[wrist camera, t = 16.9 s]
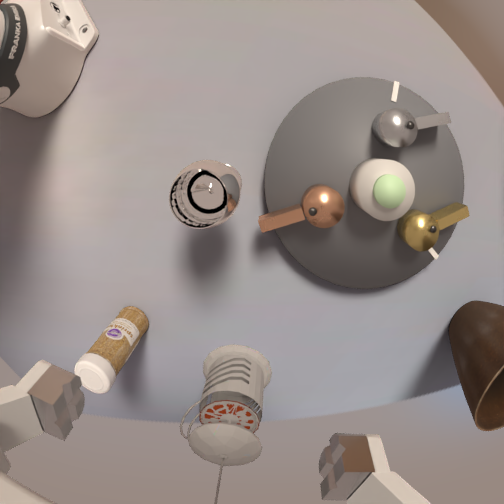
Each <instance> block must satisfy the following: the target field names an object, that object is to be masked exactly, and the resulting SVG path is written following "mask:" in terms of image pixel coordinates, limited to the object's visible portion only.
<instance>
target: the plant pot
mask: <svg viewBox="0 0 504 504" xmlns="http://www.w3.org/2000/svg"><path fill="white" fill-rule="evenodd" d="M449 337H450V343H451V348H452V353H453V357H454V361H455V365H456V369H457V373H458V376H459V379H460V383H461V386H462V389H463V391H464V395H465V398H466V400H467V403H468V405H469V408H470V411H471V413H472V416H473V419H474V421H475V424H476V426H477V427H478V428H479V429H480V430H483V431H492V430H497V429H499V428H502V427H504V306H501V305H497V304H493V303H489V302H483V301H471V302H469V303H467V304H465V305H464V306H462V307H461V308H460V309H459V310H458V311H457V312H456V314H455V315H454V317H453V318H452V320H451V323H450V326H449Z"/></svg>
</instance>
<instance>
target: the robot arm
mask: <svg viewBox="0 0 504 504" xmlns="http://www.w3.org/2000/svg"><path fill="white" fill-rule="evenodd" d="M2 1H3V0H0V106H1V107H5V108H9V109H12V110H14V111H17V112H19V113H21V114H23V115H25V116H28V117H41V116H44V115H46V114H48V113H50V112H52V111H53V110H54V109H56V108H57V107H58V106H59V105H60V104H61V103H62V102H63V101H64V100H65V99H66V98H67V96H68V95H69V94H70V92H71V91H72V89H73V87H74V86H75V84H76V82H77V80H78V78H79V75H80V73H81V70H82V67H83V63H84V60H85V57H86V55H87V53H88V52H89V51H90V49H91V48H92V46H93V45H94V43H95V42H96V40H97V38H98V30H97V28H96V27H95V25H94V23H93V21H92V19H91V17H90V16H89V14H88V12H87V10H86V8H85V6H84V5H83V3H82V1H81V0H9V1H8V2H7V3H5V4H1V2H2ZM87 29H88V30H87ZM86 30H87V32H85V31H86ZM81 385H82V382H81V377H79V376H77V375H75V374H73V373H71V372H68V371H66V370H64V369H62V368H60V367H57V366H55V365H53V364H51V363H48V362H46V361H44V360H40V361H38V362H37V363H36V364H35V365H34V366H33V367H32V368H31V370H30V371H29V372H28V373H27V374H26V375H25V376H24V377H23V378H22V379H21V380H20V382H19V383H18V384H17V385H16V386H13V385H10V386H6V387H3V388H0V504H57V503H55V502H53V501H51V500H49V499H47V498H45V497H43V496H41V495H40V494H38V493H36V492H34V491H33V490H31V489H29V488H27V487H26V486H24V485H22V484H21V483H19V482H18V481H16V480H14V479H13V478H11V477H10V476H8V475H7V473H8V471H9V469H10V467H11V464H10V462H9V460H8V459H7V457H6V455H5V454H4V452H6V451H8V450H10V449H12V448H14V447H16V446H18V445H20V444H22V443H24V442H26V441H28V440H30V439H32V438H34V437H36V436H38V435H40V434H41V433H43V431H44V432H46V433H48V434H50V435H53V436H55V437H57V438H59V439H61V440H64V441H65V439H66V437H67V436H68V434H69V432H70V431H71V430H72V428H73V426H72V421H74V420H76V419H78V418H79V416H80V415H81V413H82V411H83V408H84V400H85V399H84V394H83V392H82V391H81V390H80V387H81ZM329 441H330V445H329V446H327V447H325V448H324V450H323V452H322V453H321V457H320V460H319V473H320V474H321V476H323V478H324V480H323V481H322V483H321V484H320V485H321V494H322V500H347V501H346V502H347V503H348V504H431V503H430V502H429V501H427V500H426V499H425V498H424V497H423V496H422V495H421V494H419V493H418V492H417V491H416V490H415V489H414V488H412V487H411V486H410V485H409V484H408V483H407V482H406V481H404V480H403V479H402V478H401V477H400V476H399V475H398V474H397V473H395V472H391V471H390V468H389V464H388V461H387V458H386V454H385V451H384V448H383V445H382V441H381V438H380V436H379V435H376V434H344V433H335V434H333V435H332V437H331V438H330V440H329Z"/></svg>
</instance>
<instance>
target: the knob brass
mask: <svg viewBox="0 0 504 504" xmlns="http://www.w3.org/2000/svg"><path fill="white" fill-rule="evenodd" d="M468 216H469V211H468V207H467V206H466V205H463V204H460V203H458V202H455V203H453V204H450V205H448V206H446V207H444V208H442V209H440V210H437V211H435V212H433V213H431V214H429V215H428V214H426V213H424V212H421V211H419V210H416V209H411V210H408V211H407V212H406V213H405V214H404V215H403V216H402V217H400V219H399V221H398V225H397V231H398V235H399V237H400V238H401V239H402V240H403V241H404V242H405V243H407V244H408V245H409V246H411V247H412V248H413V249H415V250H417V251H427V250H429V249H430V248H432V247H433V246H434V245H435V243H436V242H437V240H438V237H439V230H442V229H444V228H446V227H448V226H450V225H452V224H454V223H456V222H458V221H460V220H462V219H464V218H466V217H468Z"/></svg>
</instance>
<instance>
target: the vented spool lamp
mask: <svg viewBox="0 0 504 504" xmlns="http://www.w3.org/2000/svg"><path fill="white" fill-rule="evenodd" d="M203 373H204V375H205V377H206V383H205V387H204V390H203V394H202V398H201V400H200V401H198V402H197V403H195V404H194V405H192V406H191V407H190V408H189V409H188V411H187V412H186V413H185V415H184V416H183V418H182V421H181V424H180V432H181V435H182V436H183V437H184V438H186V439H188V441H189V445H190V447H191V448H192V450H193V451H194V453H196V454H197V455H198V456H200V457H201V458H203V459H204V460H207V461H210V462H212V463H215V464H218V465H221V468H220V474H219V480H218V486H217V492H216V498H215V504H217V498H218V492H219V486H220V480H221V473H222V467H223V466H233V465H243V464H246V463H249V462H252V461H254V460H255V459H256V458H258V457H259V456H260V454H261V450H262V446H261V443H260V441H259V438H258V437H257V436H256V435H255V434H253V433H254V432H255V431H256V430H257V429H258V426H259V423H260V421H261V417H262V408H263V389H264V388H265V387H266V386H267V384H268V383H269V382H270V378H271V374H272V371H271V367H270V364H269V361H268V360H267V359H266V358H265V357H264V356H263V355H262V354H261V353H260V352H258V351H256V350H254V349H252V348H250V347H247V346H240V345H228V346H222V347H219V348H217V349H216V350H214V351H212V352H211V353H209V355H208V356H207V358H206V359H205V361H204V365H203ZM211 386H212V388H210V387H211ZM211 393H212V398H211V402H210V404H208V405H206V403H207V399H208V395H209V394H211ZM252 399H254V401H252V402H251V403H250V404H249V405H245V404H244V403H247V402H250V401H251V400H252ZM254 402H257V403H256V404H255V405H254V406H253V407H252V408H250V406H251V405H252V404H253V403H254ZM199 403H200V411H199V412H200V413H199V414H198V415H197V416H196V417H195V418H194V419H193V420H192V422H191V424H190V425H189V429H188V432H187V436H188V437H186V436H185V435H184V434H183V431H182V424H183V422H184V419H185V416H186V415H187V414H188V412H189V411H190V410H191V409H192V408H193V407H194V406H196V405H197V404H199ZM258 404H259V406H258V407H257V409H256V410H255V411H253V409H254V408H255V407H256V406H257V405H258ZM259 408H261V410H260V411H259V412H258V414H256V412H257V411H258V409H259ZM199 415H200V422H201V423H202V426H199V427H197V428H196V429H195V430H194V431H193V432H192V433H191V434H190V435H189V432H190V429H191V426H192V424H193V422H194V421H195V419H196V418H197V417H198V416H199Z"/></svg>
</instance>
